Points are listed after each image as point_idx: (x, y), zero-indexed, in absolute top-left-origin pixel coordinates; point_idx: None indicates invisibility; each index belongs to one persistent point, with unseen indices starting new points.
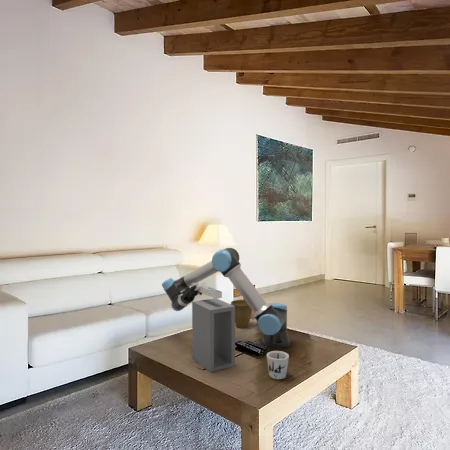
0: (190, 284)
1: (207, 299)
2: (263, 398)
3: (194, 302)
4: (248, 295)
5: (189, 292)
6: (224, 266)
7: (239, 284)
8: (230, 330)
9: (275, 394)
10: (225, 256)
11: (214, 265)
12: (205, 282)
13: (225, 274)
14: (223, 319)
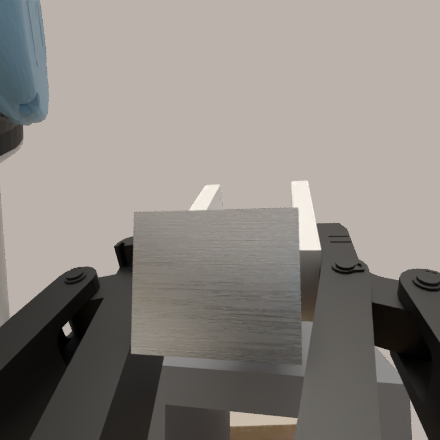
0: None
1: (224, 367)
2: (286, 432)
3: (390, 366)
4: (8, 308)
5: (411, 387)
6: (45, 84)
7: (3, 244)
8: (228, 424)
9: (254, 429)
10: (39, 4)
11: (25, 16)
12: (221, 199)
13: (3, 154)
14: (213, 419)
